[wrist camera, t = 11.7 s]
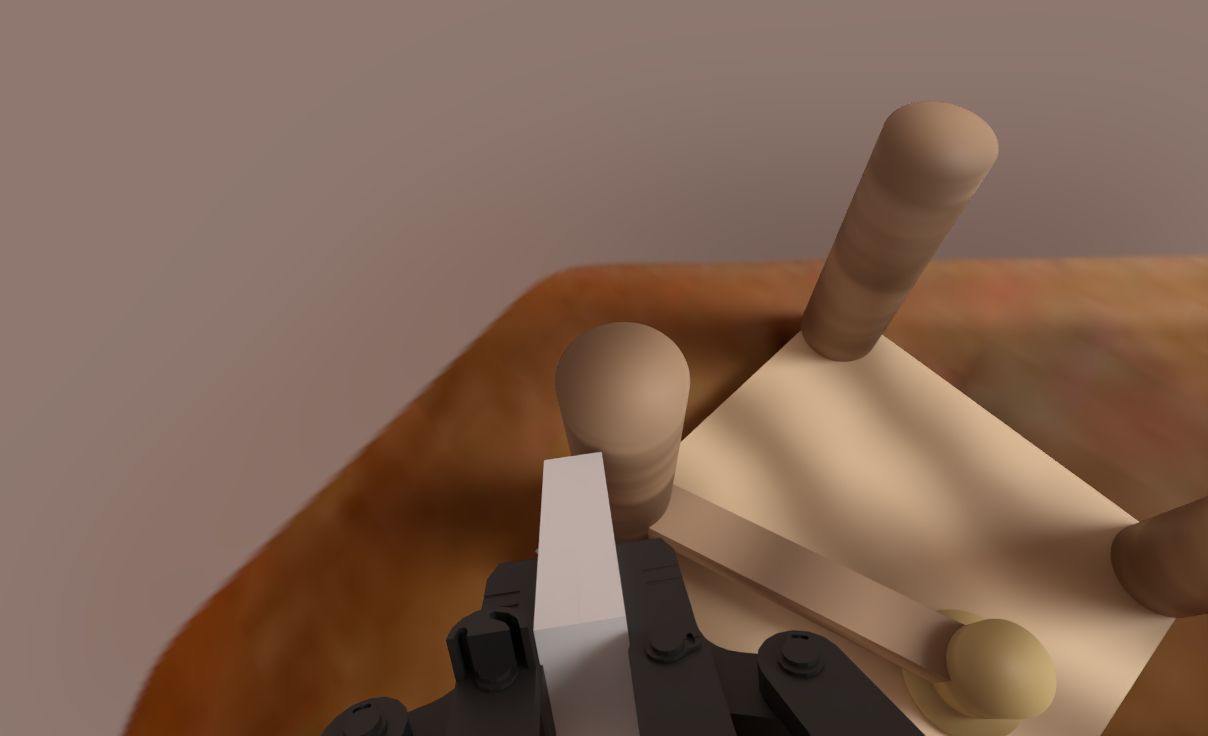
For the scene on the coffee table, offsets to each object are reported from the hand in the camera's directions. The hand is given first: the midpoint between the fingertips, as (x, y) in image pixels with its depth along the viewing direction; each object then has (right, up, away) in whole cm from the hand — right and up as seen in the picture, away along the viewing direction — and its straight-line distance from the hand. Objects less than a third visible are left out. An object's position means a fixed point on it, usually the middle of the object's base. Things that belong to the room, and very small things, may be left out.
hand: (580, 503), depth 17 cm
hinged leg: (+8, -5, +8) cm, 12 cm away
